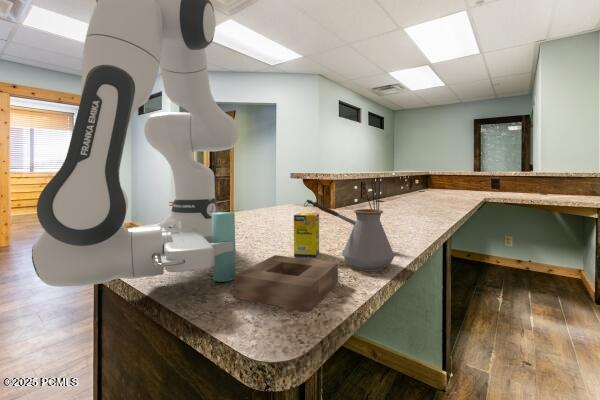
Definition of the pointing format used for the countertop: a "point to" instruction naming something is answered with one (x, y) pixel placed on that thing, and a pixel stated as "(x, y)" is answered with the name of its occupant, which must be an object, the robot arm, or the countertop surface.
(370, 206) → the reed diffuser
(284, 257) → the socket block
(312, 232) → the supplement box
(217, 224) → the peg
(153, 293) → the countertop surface
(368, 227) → the coffee pot
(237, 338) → the countertop surface
